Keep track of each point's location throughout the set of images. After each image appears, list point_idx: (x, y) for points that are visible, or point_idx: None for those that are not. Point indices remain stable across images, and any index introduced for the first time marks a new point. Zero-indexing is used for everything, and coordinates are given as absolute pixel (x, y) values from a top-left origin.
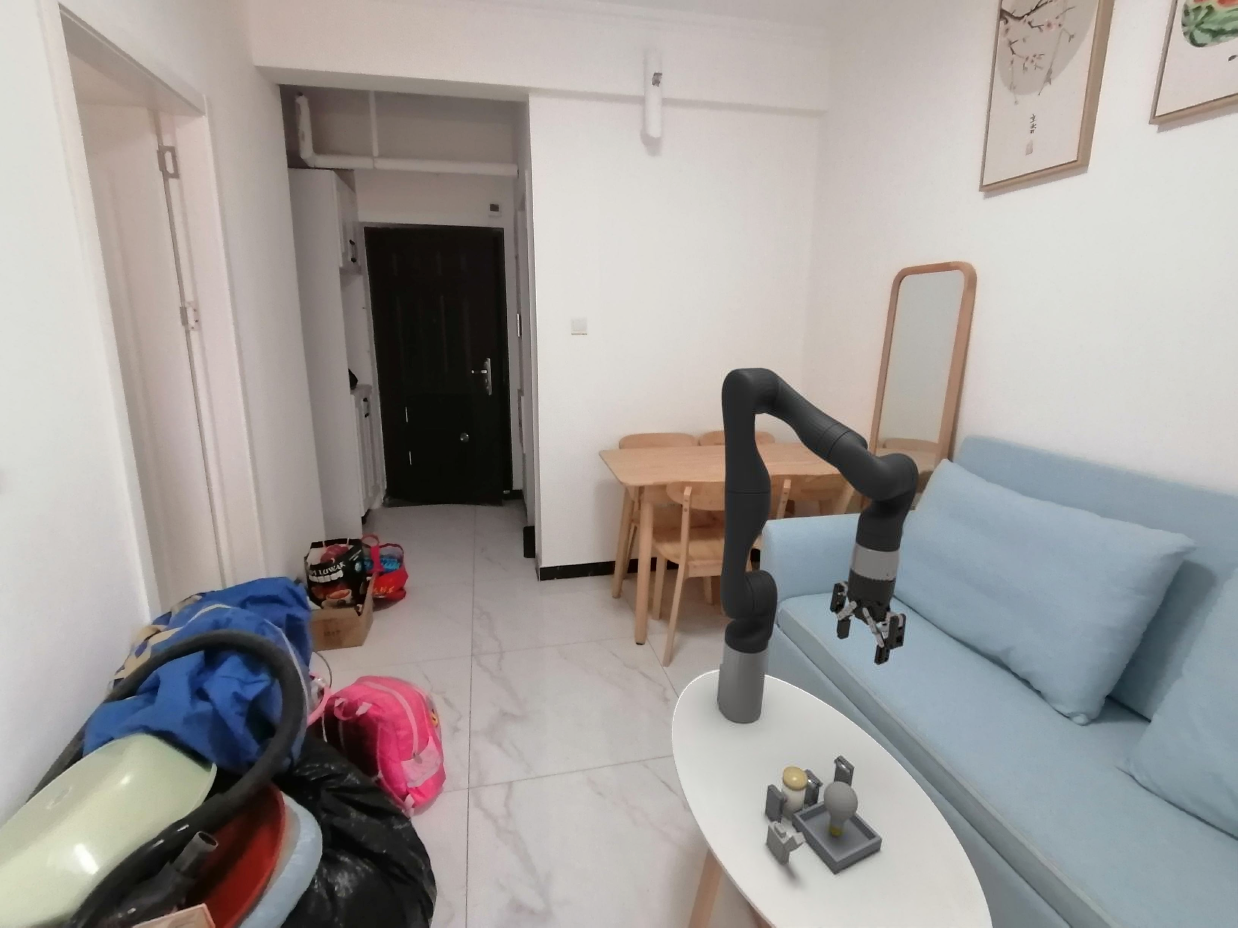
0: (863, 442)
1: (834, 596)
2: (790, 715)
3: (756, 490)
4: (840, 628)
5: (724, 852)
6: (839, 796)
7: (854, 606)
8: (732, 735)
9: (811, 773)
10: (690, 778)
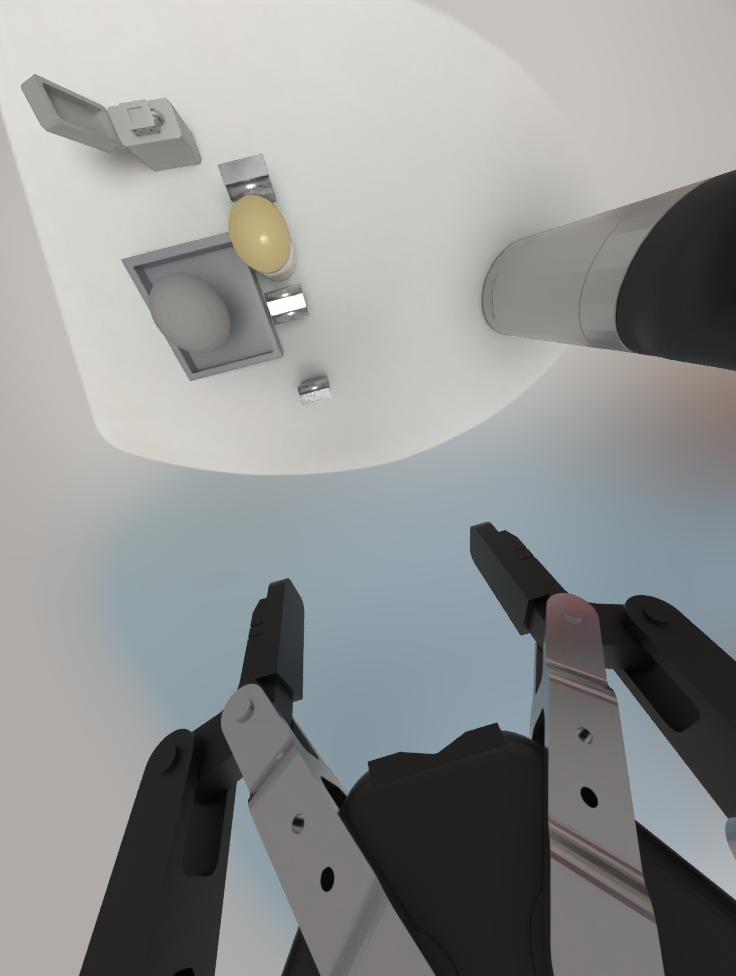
0: None
1: None
2: (467, 381)
3: None
4: (506, 562)
5: None
6: (157, 295)
7: (571, 943)
8: (469, 230)
9: (293, 308)
10: None
